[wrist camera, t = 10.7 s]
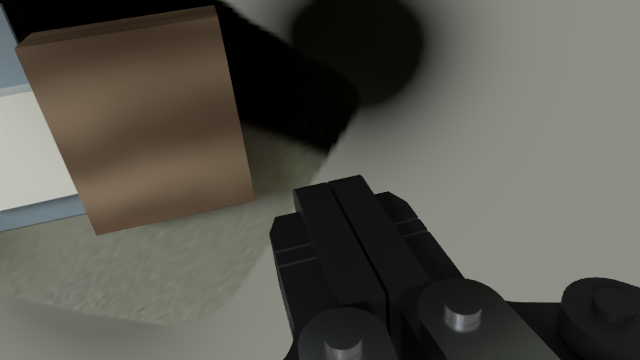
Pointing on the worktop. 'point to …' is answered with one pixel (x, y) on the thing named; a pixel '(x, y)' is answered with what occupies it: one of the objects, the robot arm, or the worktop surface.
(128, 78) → the stand
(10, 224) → the mat
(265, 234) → the worktop surface
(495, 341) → the robot arm
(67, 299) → the worktop surface
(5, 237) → the worktop surface
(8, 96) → the coaster
